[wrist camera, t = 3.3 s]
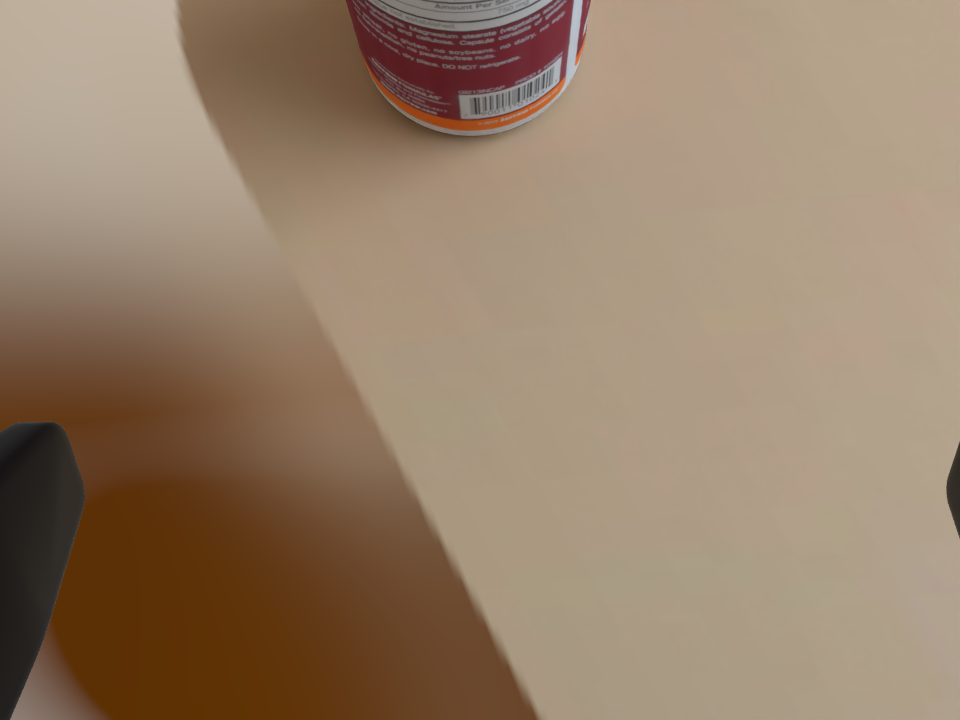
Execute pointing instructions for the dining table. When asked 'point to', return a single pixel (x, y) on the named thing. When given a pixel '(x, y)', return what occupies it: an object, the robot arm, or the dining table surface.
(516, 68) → the pill bottle
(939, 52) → the dining table surface
